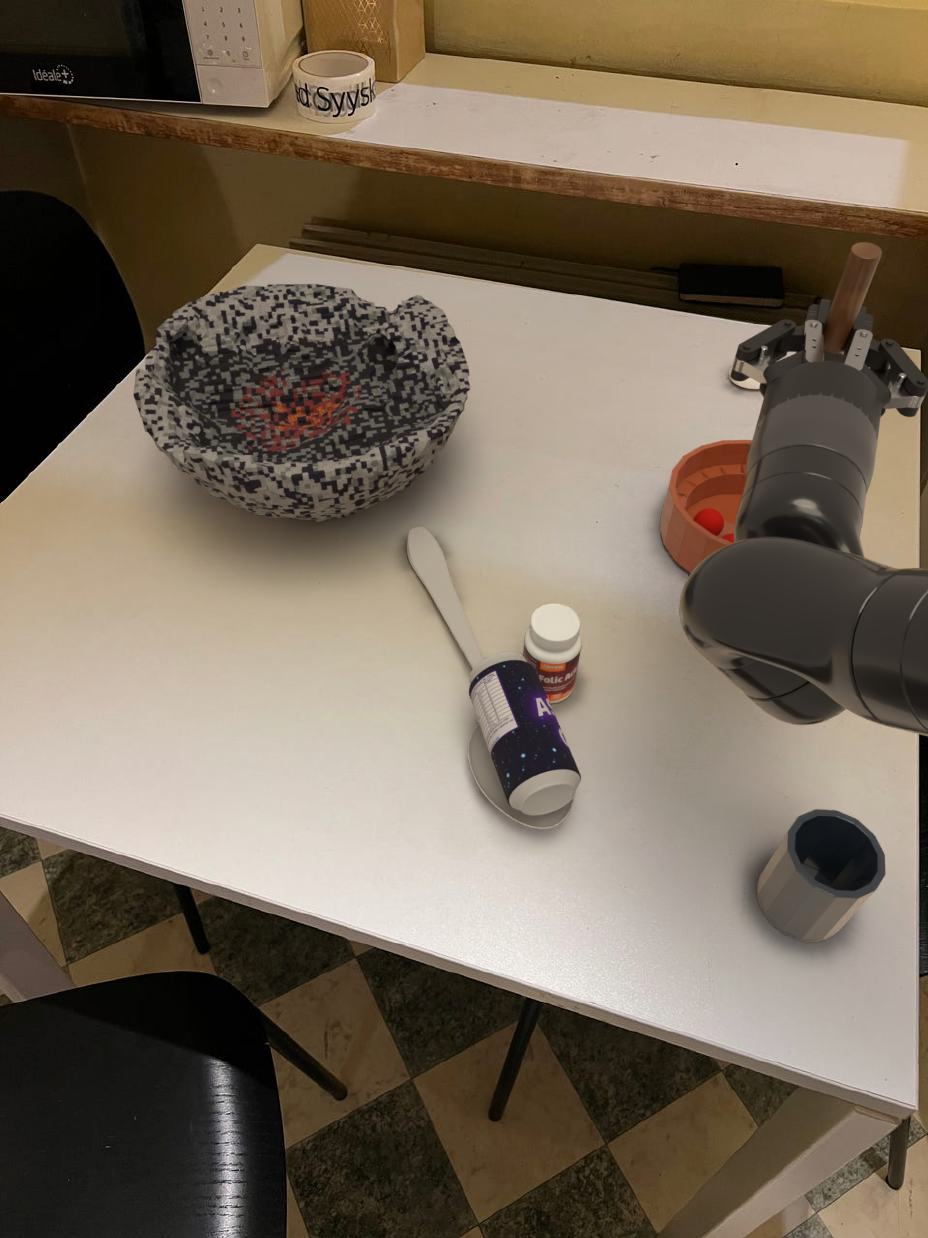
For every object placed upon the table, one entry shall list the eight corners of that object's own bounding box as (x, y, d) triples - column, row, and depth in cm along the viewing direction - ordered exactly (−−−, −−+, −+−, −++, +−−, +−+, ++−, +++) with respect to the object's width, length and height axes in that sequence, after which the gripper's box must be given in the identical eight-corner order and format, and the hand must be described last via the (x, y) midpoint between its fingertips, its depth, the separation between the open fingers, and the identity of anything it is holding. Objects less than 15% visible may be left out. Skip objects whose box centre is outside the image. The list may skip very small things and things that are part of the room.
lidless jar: (753, 397, 102) (778, 381, 104) (759, 375, 100) (785, 359, 102) (719, 378, 105) (745, 363, 107) (725, 356, 102) (751, 341, 105)
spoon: (597, 827, 66) (601, 810, 64) (500, 858, 65) (502, 840, 63) (453, 538, 89) (453, 518, 87) (379, 554, 87) (377, 534, 85)
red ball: (724, 506, 84) (693, 514, 84) (730, 536, 84) (700, 543, 84) (716, 503, 87) (686, 511, 87) (722, 532, 87) (692, 540, 87)
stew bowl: (824, 500, 91) (843, 455, 86) (822, 613, 81) (843, 569, 76) (669, 472, 93) (680, 427, 89) (648, 578, 83) (659, 533, 79)
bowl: (173, 608, 81) (125, 486, 69) (175, 409, 101) (138, 289, 89) (497, 559, 85) (503, 436, 74) (438, 377, 105) (435, 258, 93)
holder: (844, 871, 64) (884, 821, 58) (844, 954, 60) (887, 910, 54) (759, 849, 65) (789, 798, 59) (753, 930, 61) (785, 884, 55)
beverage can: (573, 768, 59) (518, 638, 67) (499, 803, 60) (453, 670, 68) (594, 797, 64) (540, 672, 71) (525, 829, 64) (479, 701, 72)
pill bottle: (536, 713, 73) (543, 652, 67) (511, 672, 76) (515, 610, 70) (584, 693, 75) (596, 632, 68) (558, 654, 77) (566, 592, 71)
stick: (807, 461, 75) (892, 247, 59) (800, 476, 74) (885, 263, 58) (774, 450, 76) (848, 237, 60) (766, 464, 75) (840, 251, 59)
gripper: (951, 424, 51) (956, 284, 62) (718, 375, 54) (760, 250, 65) (902, 517, 57) (915, 374, 67) (694, 468, 60) (737, 339, 71)
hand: (839, 314), depth 66 cm, fingers closed on stick, 2 cm apart
